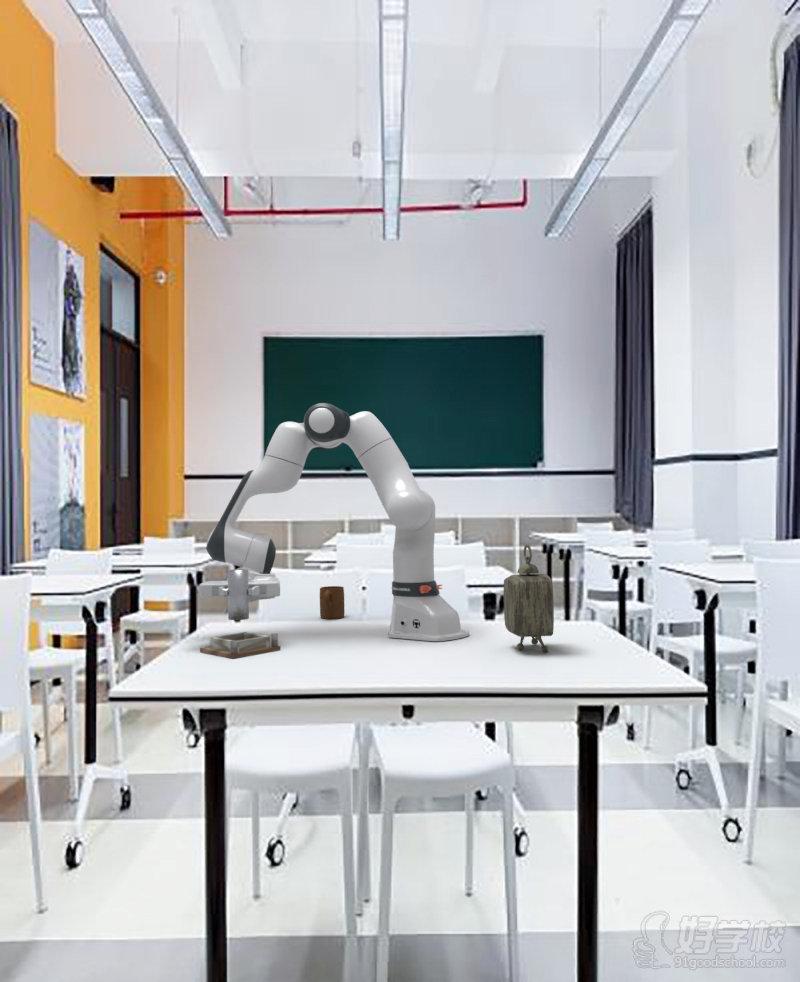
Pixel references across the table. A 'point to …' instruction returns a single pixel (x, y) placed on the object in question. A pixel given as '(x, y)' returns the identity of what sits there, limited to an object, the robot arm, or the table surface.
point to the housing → (241, 645)
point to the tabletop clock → (529, 604)
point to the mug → (332, 602)
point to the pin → (238, 594)
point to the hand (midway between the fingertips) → (237, 592)
